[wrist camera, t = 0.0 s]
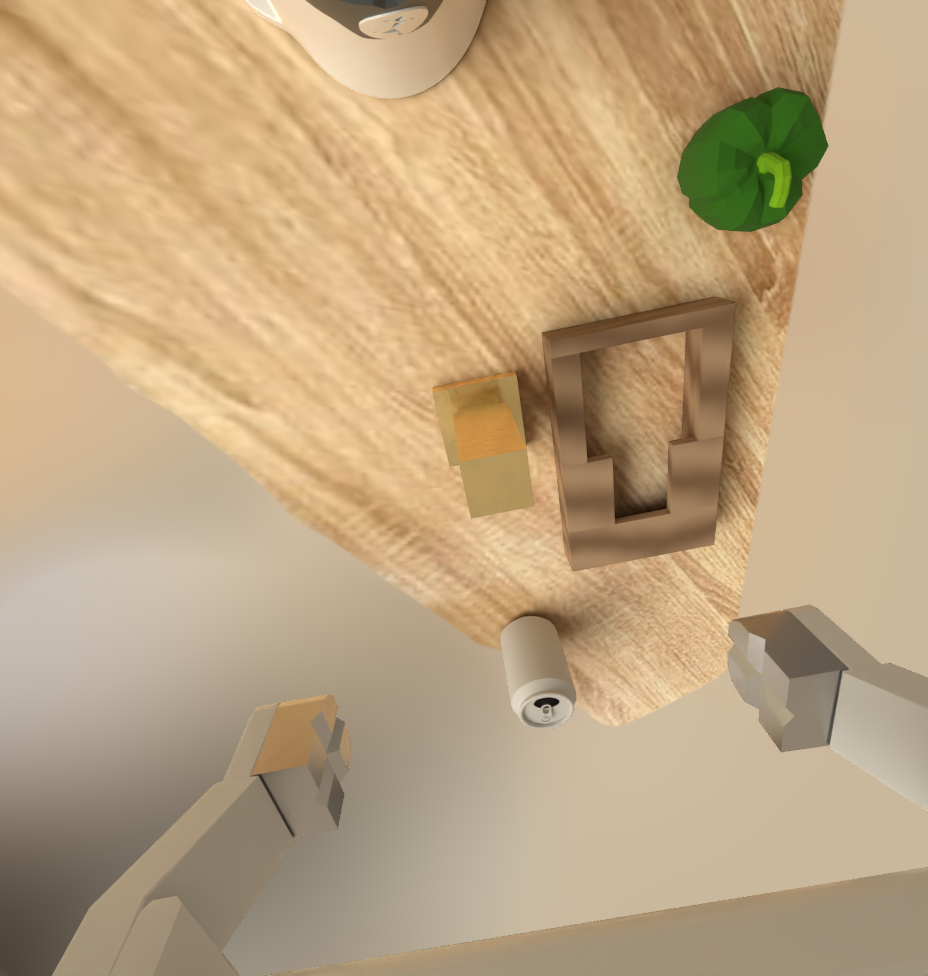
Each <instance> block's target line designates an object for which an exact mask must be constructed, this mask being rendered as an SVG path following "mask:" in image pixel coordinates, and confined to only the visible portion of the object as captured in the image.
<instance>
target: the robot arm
mask: <svg viewBox="0 0 928 976" xmlns="http://www.w3.org/2000/svg"><path fill="white" fill-rule="evenodd" d="M245 1H246V3H247V5H248V6H249V7H250V9H251V10H252V11H253V12H254V13H255V14H257V15H258V16H259V17H261V18H263V19H264V20H266V21H267V22H269V23H271V24H273V25H275V26H277V27H278V28H280V29H282V30H284V31H286V32H288V33H290V34H291V35H292V36H293V37H294V38H295V39H296V40H297V41H298V42H299V43H300V44H301V45H302V47H303V48H304V49H305V50H306V51H307V52H308V54H309V55H310V56H311V57H312V58H313V59H314V61H315V62H316V63H317V64H318V65H319V66H320V67H321V68H322V69H323V70H324V71H326V72H327V73H328V74H329V75H330V76H332V77H333V78H334V79H335V80H337V81H338V82H340V83H341V84H343V85H345V86H346V87H348V88H350V89H352V90H354V91H356V92H359V93H362V94H364V95H368V96H372V97H377V98H385V99H395V98H403V97H408V96H412V95H415V94H418V93H420V92H423V91H425V90H427V89H429V88H430V87H432V86H434V85H435V84H437V83H438V82H439V81H441V80H442V79H443V78H444V77H445V76H446V75H447V74H448V73H449V72H450V71H451V70H452V69H453V68H454V67H455V66H456V65H457V64H458V62H459V61H460V59H461V58H462V57H463V55H464V54H465V52H466V50H467V49H468V47H469V45H470V43H471V41H472V40H473V37H474V35H475V33H476V31H477V28H478V25H479V23H480V20H481V17H482V14H483V10H484V7H485V4H486V1H487V0H245ZM728 636H729V637H730V638H731V640H732V641H733V642H734V643H735V644H734V645H733V647H732V648H731V649H730V650H729V652H728V668H729V672H730V676H731V679H732V681H733V683H734V685H735V687H736V689H737V691H738V693H739V694H740V695H741V697H742V698H743V700H744V701H745V702H747V703H749V704H750V705H752V706H754V707H756V708H758V709H759V722H760V724H761V725H762V726H763V728H764V729H765V730H766V732H767V733H768V735H769V736H770V737H771V739H772V740H773V742H774V743H775V744H776V746H777V747H778V749H779V750H780V751H781V752H785V751H792V750H800V749H806V748H813V747H821V746H828V745H830V746H829V748H830V749H832V750H833V751H835V752H837V753H838V754H840V755H841V756H843V757H844V758H846V759H847V760H849V761H850V762H852V763H854V764H855V765H856V766H858V767H859V768H861V769H863V770H864V771H866V772H867V773H869V774H870V775H872V776H873V777H875V778H876V779H878V780H880V781H881V782H882V783H884V784H886V785H887V786H889V787H890V788H892V789H893V790H895V791H896V792H898V793H900V794H901V795H902V796H904V797H906V798H907V799H909V800H910V801H912V802H913V803H915V804H916V805H918V806H919V807H921V808H923V809H924V810H925V811H927V812H928V678H927V677H925V676H922V675H920V674H917V673H915V672H912V671H910V670H907V669H905V668H902V667H899V666H896V665H894V664H892V663H886V664H881V663H879V662H878V661H877V660H876V659H875V658H874V657H873V656H872V655H870V654H869V653H868V652H867V651H866V650H865V649H864V648H862V647H861V646H860V645H859V644H858V643H857V642H856V641H854V640H853V639H852V638H851V637H850V636H849V635H847V634H846V633H845V632H844V631H843V630H842V629H841V628H840V627H838V626H837V625H836V624H835V623H834V622H833V621H831V620H830V619H829V618H828V617H827V616H826V615H825V614H824V613H822V612H821V611H820V610H819V609H818V608H816V607H814V606H811V605H806V606H801V607H796V608H790V609H786V610H783V611H775V612H770V613H765V614H760V615H755V616H750V617H745V618H739V619H734V620H732V621H731V623H730V625H729V633H728ZM337 711H338V705H337V703H336V701H335V699H334V697H333V695H322V696H316V697H310V698H304V699H297V700H290V701H284V702H282V703H276V704H269V705H262V706H258V707H257V708H256V709H255V710H254V711H253V713H252V715H251V717H250V720H249V722H248V724H247V726H246V729H245V731H244V734H243V736H242V738H241V740H240V743H239V745H238V747H237V750H236V752H235V754H234V757H233V759H232V761H231V764H230V766H229V768H228V771H227V773H226V775H225V778H224V780H223V782H220V783H216V784H214V785H213V786H212V787H211V788H210V789H209V790H208V791H207V792H206V793H205V794H204V795H203V796H202V797H201V798H200V799H199V800H198V801H197V802H196V803H195V804H194V805H193V806H192V807H191V808H190V809H189V810H188V811H187V812H186V813H185V814H184V815H183V816H182V817H181V818H180V819H179V820H178V821H177V822H176V823H175V824H174V825H173V826H172V827H171V828H170V829H169V830H168V831H167V832H166V833H165V834H164V835H163V836H162V837H161V838H160V839H159V840H158V841H157V842H156V843H155V844H154V845H153V846H152V847H151V848H149V849H148V850H147V851H146V852H145V853H144V855H142V856H141V857H140V858H139V859H138V861H137V862H135V864H133V865H132V866H131V867H130V868H129V869H128V870H127V871H126V872H125V873H124V874H123V876H121V877H120V878H119V879H118V880H117V881H116V882H115V883H114V884H113V885H112V886H111V887H110V888H109V889H108V890H107V891H106V892H105V893H104V894H103V895H102V896H101V897H100V898H99V899H98V900H97V901H96V902H95V903H94V904H93V905H92V906H91V907H90V908H89V910H88V912H87V914H86V915H85V917H84V919H83V921H82V923H81V924H80V926H79V928H78V930H77V932H76V934H75V935H74V937H73V939H72V941H71V942H70V944H69V946H68V948H67V950H66V952H65V953H64V955H63V957H62V959H61V960H60V962H59V964H58V966H57V968H56V970H55V971H54V973H53V975H52V976H239V974H238V971H237V970H236V969H235V968H234V966H233V965H232V964H231V963H230V961H229V960H228V959H227V958H226V956H225V955H224V954H223V953H222V950H223V948H224V947H225V945H226V944H227V942H228V941H229V939H230V938H231V936H232V935H233V933H234V932H235V930H236V929H237V927H238V926H239V924H240V923H241V921H242V920H243V918H244V916H245V915H246V914H247V912H248V911H249V909H250V908H251V906H252V905H253V903H254V902H255V900H256V899H257V897H258V896H259V894H260V892H261V891H262V889H263V888H264V886H265V885H266V883H267V882H268V880H269V879H270V877H271V876H272V874H273V873H274V871H275V870H276V868H277V867H278V865H279V864H280V862H281V861H282V859H283V858H284V856H285V855H286V853H287V851H288V850H289V849H290V847H291V846H292V844H293V843H294V838H297V837H302V836H307V835H311V834H317V833H321V832H326V831H330V830H336V829H338V826H339V820H340V815H341V809H342V804H343V799H344V792H343V790H342V788H341V785H340V782H341V781H342V779H343V778H344V777H345V775H346V774H347V773H348V771H349V765H350V759H351V744H350V737H349V732H348V729H347V727H346V724H345V722H344V721H342V720H340V719H339V718H337V717H336V715H337ZM264 976H928V867H926V868H919V869H913V870H907V871H901V872H895V873H888V874H882V875H876V876H870V877H864V878H858V879H852V880H846V881H840V882H833V883H827V884H822V885H815V886H809V887H803V888H797V889H790V890H785V891H778V892H772V893H766V894H760V895H754V896H747V897H741V898H735V899H729V900H723V901H717V902H710V903H705V904H699V905H692V906H687V907H680V908H674V909H667V910H661V911H655V912H649V913H643V914H636V915H631V916H624V917H618V918H612V919H607V920H600V921H594V922H588V923H581V924H575V925H569V926H563V927H557V928H551V929H545V930H540V931H533V932H527V933H521V934H515V935H508V936H502V937H496V938H491V939H484V940H478V941H472V942H466V943H460V944H454V945H447V946H441V947H435V948H430V949H423V950H417V951H411V952H405V953H398V954H392V955H386V956H380V957H374V958H368V959H362V960H356V961H350V962H344V963H338V964H331V965H325V966H319V967H313V968H307V969H301V970H295V971H289V972H282V973H277V974H270V975H264Z"/></svg>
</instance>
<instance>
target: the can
mask: <svg viewBox="0 0 928 976" xmlns="http://www.w3.org/2000/svg"><path fill="white" fill-rule="evenodd" d="M500 641H501V647H502V653H503V658H504V664H505V670H506V676H507V682H508V688H509V694H510V699H511V705H512V709H513V710H514V712H515V713H516V714H517V715H518V716H519V719H520V720H521V721H522V723H523V724H525V725H526V726H528V727H530V728H534V729H550V728H554V727H557V726H560V725H562V724H563V723H565V722H566V721H567V720H568V719H569V718H570V717H571V716H572V714H573V712H574V703H575V701H576V691H575V687H574V684H573V681H572V678H571V674H570V671H569V668H568V665H567V662H566V658H565V655H564V652H563V649H562V646H561V642H560V639H559V636H558V633H557V630H556V628H555V626H554V624H553V623H551V622H550V621H549V620H547V619H545V618H542V617H537V616H525V617H521V618H518V619H516V620H514V621H513V622H511V623H510V624H509V625H507V626H506V627H505V629H504V630H503V631H502V634H501V637H500Z"/></svg>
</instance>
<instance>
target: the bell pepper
mask: <svg viewBox="0 0 928 976" xmlns="http://www.w3.org/2000/svg"><path fill="white" fill-rule="evenodd" d="M827 147H828V143H827V140H826V137H825V134H824V131H823V127H822V124H821V121H820V118H819V116H818V114H817V112H816V110H815V108H814V106H813V104H812V102H811V100H810V98H809V97H808V96H807V95H805V94H804V93H803V92H799V91H794V90H789V89H784V88H779V87H778V88H775V89H773V90H770V91H768V92H765V93H763V94H761V95H759V96H758V97H757V98H753V97H751V98H748V99H746V100H743V101H741V102H738V103H736V104H734V105H732V106H730V107H728V108H726V109H724V110H722V111H720V112H718V113H716V114H714V115H713V116H712V117H711V118H710V119H709V120H708V121H706V122H705V123H704V124H703V125H702V126H701V127H700V128H699V129H698V131H697V132H696V133H695V134H694V136H693V137H692V139H691V141H690V142H689V144H688V145H687V147H686V148H685V150H684V151H683V153H682V157H681V162H680V167H679V172H678V177H677V178H678V181H679V184H680V188H681V191H682V194H684V195H685V196H687V197H689V207H690V208H691V209H692V210H693V211H694V212H695V213H696V214H697V215H698V216H699V217H700V218H701V219H702V220H704V221H705V222H706V223H708V224H709V225H711V226H713V227H714V228H716V229H718V230H729V231H745V232H752V231H755V230H758V229H761V228H764V227H767V226H770V225H773V224H776V223H779V222H780V221H781V220H782V219H784V218H785V217H786V216H787V215H788V213H789V212H790V211H791V209H792V208H793V207H794V205H795V204H796V203H797V201H798V200H799V199H800V197H801V196H802V179H803V178H804V177H805V176H806V175H808V174H809V173H810V172H811V171H812V170H814V169H815V168H816V167H817V166H818V164H819V162H820V160H821V159H822V157H823V155H824V153H825V151H826V149H827Z"/></svg>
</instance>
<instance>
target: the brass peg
mask: <svg viewBox="0 0 928 976" xmlns="http://www.w3.org/2000/svg"><path fill="white" fill-rule="evenodd" d="M433 396H434V401H435V405H436V409H437V414H438V418H439V422H440V427H441V431H442V435H443V440H444V444H445V448H446V453H447V457H448V461H449V466H450V467H451V466H456V465H460V470H461V474H462V479H463V483H464V488H465V492H466V497H467V502H468V506H469V511H470V515H471V518H476V517H481V516H486V515H491V514H496V513H502V512H507V511H512V510H517V509H522V508H527V507H532V506H534V500H533V493H532V485H531V478H530V471H529V464H528V456H527V447H526V440H525V433H524V425H523V418H522V411H521V404H520V396H519V389H518V382H517V375H516V373H515V371H510V372H506V373H501V374H496V375H491V376H486V377H481V378H477V379H472V380H467V381H462V382H457V383H452V384H447V385H443V386H438V387H433Z"/></svg>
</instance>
